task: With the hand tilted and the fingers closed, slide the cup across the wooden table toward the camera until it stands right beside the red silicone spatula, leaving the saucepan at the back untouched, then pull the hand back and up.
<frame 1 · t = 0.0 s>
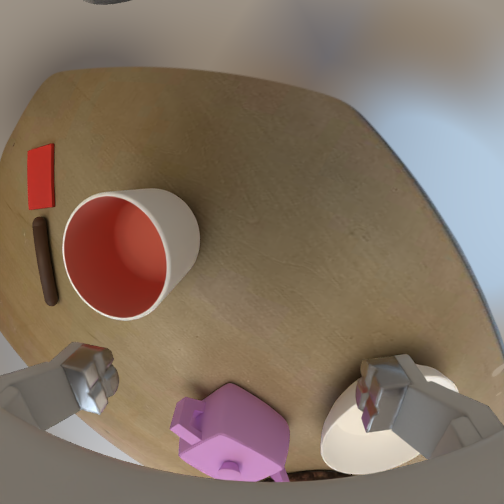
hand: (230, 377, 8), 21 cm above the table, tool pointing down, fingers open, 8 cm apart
teapot: (240, 417, 35), on the table
saucepan: (304, 495, 40), on the table
bowl: (379, 397, 33), on the table
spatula: (44, 223, 30), on the table
cup: (158, 235, 29), on the table
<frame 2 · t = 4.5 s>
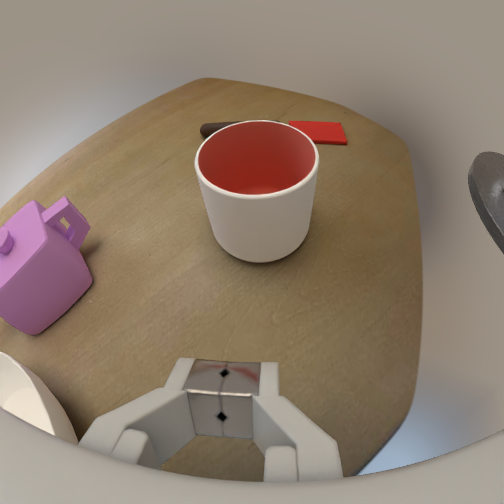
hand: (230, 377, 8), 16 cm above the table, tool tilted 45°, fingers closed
teapot: (50, 287, 28), on the table
bowl: (43, 447, 18), on the table
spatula: (276, 132, 39), on the table
cup: (260, 227, 31), on the table
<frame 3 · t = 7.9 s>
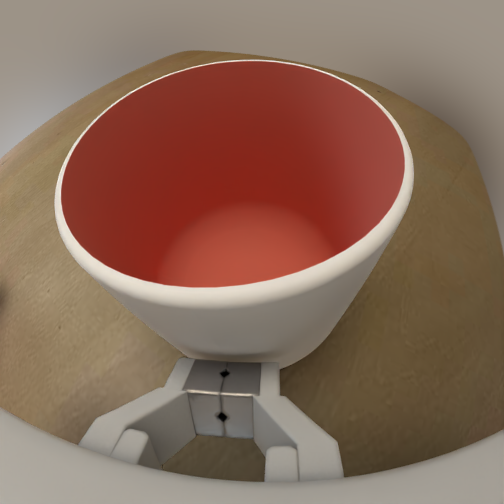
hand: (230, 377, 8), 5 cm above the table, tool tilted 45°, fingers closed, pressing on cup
cup: (248, 286, 16), on the table, touching gripper
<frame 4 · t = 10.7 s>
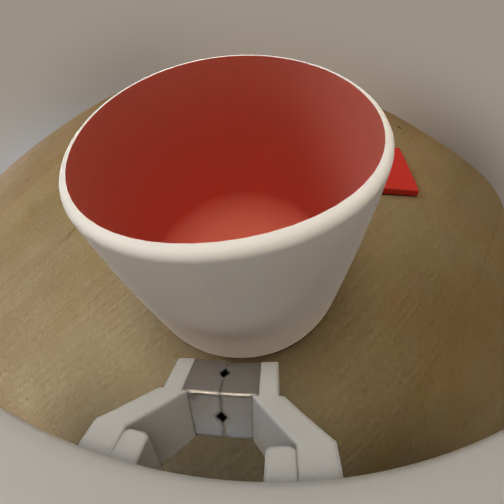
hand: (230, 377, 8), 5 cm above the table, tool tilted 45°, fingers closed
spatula: (281, 166, 20), on the table
cup: (243, 274, 16), on the table
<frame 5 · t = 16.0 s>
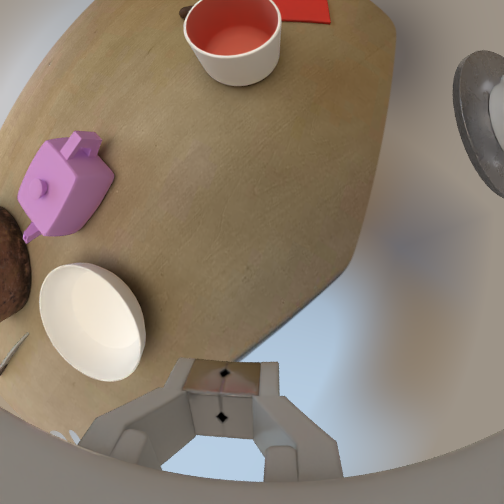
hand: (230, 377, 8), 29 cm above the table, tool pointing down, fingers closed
teapot: (79, 187, 37), on the table
saucepan: (0, 259, 41), on the table
bowl: (108, 307, 41), on the table
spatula: (257, 9, 29), on the table
cup: (241, 57, 32), on the table
kitchen knife: (11, 356, 47), on the table
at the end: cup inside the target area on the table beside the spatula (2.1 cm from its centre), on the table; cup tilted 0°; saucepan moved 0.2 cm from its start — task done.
